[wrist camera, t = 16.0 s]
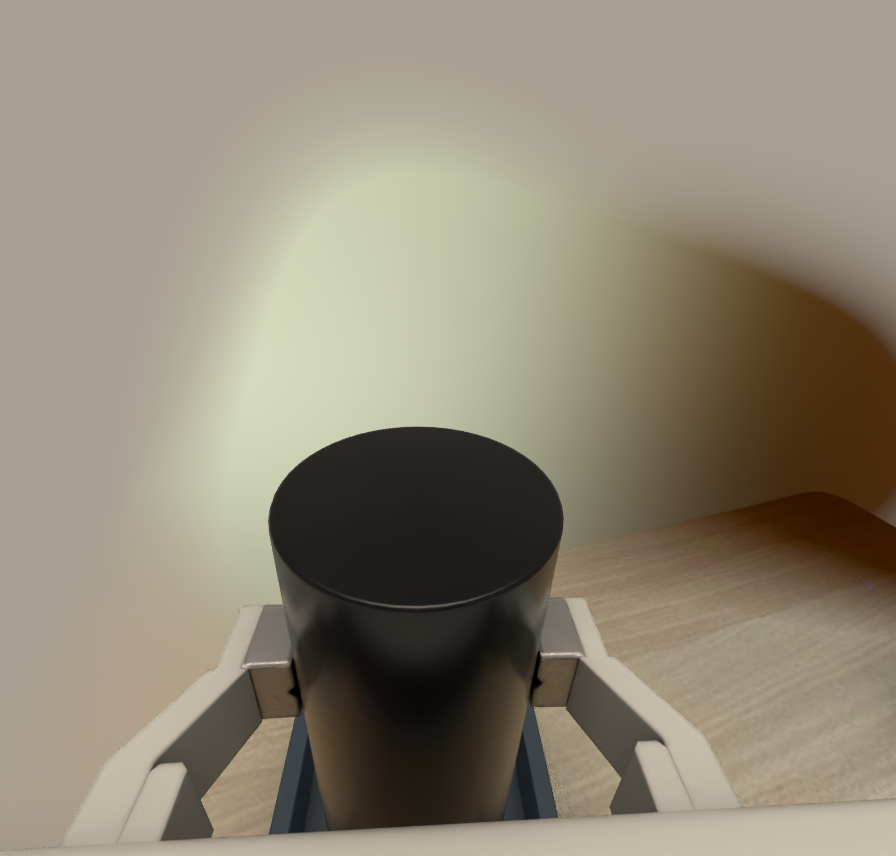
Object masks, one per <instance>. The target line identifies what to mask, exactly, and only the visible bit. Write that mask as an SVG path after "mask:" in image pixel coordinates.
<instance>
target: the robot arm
mask: <svg viewBox="0 0 896 856" xmlns="http://www.w3.org/2000/svg"><path fill="white" fill-rule="evenodd" d="M529 701H530V706H531V707H566V709H567V711H568V712H569V713H570V714H571V716H572V717H573V718H574V719H575V721H576V722H577V723H578V724H579V726H580V727H581V728H582V729H583V730H584V732H585V733H586V734H587V735H588V737H589V738H590V739H591V740H592V742H593V743H594V744H595V745H596V747H597V748H598V749H599V750H600V752H601V753H602V754H603V755H604V757H605V758H606V759H607V760H608V762H609V763H610V764H611V765H612V767H613V768H614V769H615V770H616V772H617V773H618V774H619V775H620V777H621V778H622V779H621V781H620V784H619V786H618V788H617V791H616V793H615V795H614V798H613V800H612V802H611V805H610V810H611V813H612V815H601V816H583V817H566V818H549V819H531V820H514V821H496V822H479V823H462V824H444V825H427V826H410V827H392V828H375V829H357V830H340V831H323V832H306V833H289V834H271V835H254V836H237V837H220V838H211V837H212V833H213V830H214V829H213V827H212V825H211V823H210V820H209V818H208V816H207V814H206V811H205V809H204V807H203V805H202V802H201V798H202V797H203V796H204V795H205V793H206V792H207V791H208V790H209V788H210V787H211V786H212V785H213V783H214V782H215V781H216V779H217V778H218V777H219V776H220V774H221V773H222V772H223V771H224V769H225V768H226V767H227V766H228V764H229V763H230V762H231V760H232V759H233V758H234V757H235V755H236V754H237V753H238V752H239V750H240V749H241V748H242V747H243V745H244V744H245V743H246V741H247V740H248V739H249V738H250V736H251V735H252V734H253V733H254V731H255V730H256V729H257V727H258V726H259V725H260V724H261V722H262V719H270V718H285V717H299V716H301V712H302V708H303V704H302V699H301V694H300V689H299V684H298V679H297V674H296V668H295V663H294V658H293V653H292V648H291V643H290V638H289V632H288V627H287V622H286V617H285V612H284V607H283V605H244V606H243V608H242V609H241V610H240V611H239V614H238V616H237V618H236V621H235V623H234V625H233V628H232V630H231V633H230V635H229V637H228V640H227V642H226V645H225V647H224V649H223V652H222V654H221V657H220V659H219V661H218V664H217V666H216V669H213V670H208V671H207V672H205V673H204V674H203V675H202V676H201V677H200V678H199V679H198V680H196V681H195V682H194V683H193V684H192V685H191V686H190V687H189V688H187V689H186V690H185V691H184V692H183V693H182V694H181V695H180V696H179V697H177V698H176V699H175V700H174V701H173V702H172V703H171V704H169V705H168V706H167V707H166V708H165V709H164V710H163V711H162V712H161V713H159V714H158V715H157V716H156V717H155V718H154V719H153V720H152V721H150V722H149V723H148V724H147V725H146V726H145V727H144V728H143V729H141V730H140V731H139V732H138V733H137V734H136V735H135V736H134V737H133V738H131V739H130V740H129V741H128V742H127V743H126V744H125V745H123V746H122V747H121V748H120V749H119V750H118V751H117V752H116V753H114V755H112V756H111V757H110V758H109V759H108V760H107V761H105V762H104V763H103V765H102V766H101V768H100V770H99V772H98V774H97V776H96V777H95V779H94V781H93V783H92V785H91V787H90V788H89V790H88V792H87V794H86V796H85V798H84V799H83V801H82V803H81V805H80V807H79V809H78V810H77V812H76V814H75V816H74V818H73V820H72V821H71V823H70V825H69V827H68V829H67V831H66V832H65V834H64V836H63V838H62V840H61V842H60V844H59V846H58V847H49V848H31V849H15V850H0V856H896V798H894V799H876V800H859V801H842V802H824V803H807V804H790V805H773V806H756V807H743V806H742V804H741V802H740V800H739V798H738V796H737V794H736V792H735V790H734V788H733V787H732V785H731V783H730V781H729V779H728V777H727V775H726V773H725V771H724V769H723V767H722V765H721V764H720V762H719V760H718V758H717V756H716V754H715V752H714V750H713V748H712V746H711V744H710V743H709V741H708V739H707V737H706V736H705V735H704V734H703V733H702V732H700V731H699V730H698V729H697V728H696V727H695V726H694V725H692V724H691V723H690V722H689V721H688V720H687V719H686V718H685V717H683V716H682V715H681V714H680V713H679V712H678V711H677V710H675V709H674V708H673V707H672V706H671V705H670V704H669V703H667V702H666V701H665V700H664V699H663V698H662V697H661V696H659V695H658V694H657V693H656V692H655V691H654V690H653V689H651V688H650V687H649V686H648V685H647V684H646V683H645V682H644V681H642V680H641V679H640V678H639V677H638V676H637V675H636V674H634V673H633V672H632V671H631V670H630V669H629V668H628V667H626V666H625V665H624V664H623V663H622V662H621V661H620V660H618V659H617V658H616V657H609V655H608V653H607V650H606V648H605V645H604V643H603V641H602V638H601V636H600V633H599V631H598V628H597V626H596V624H595V621H594V619H593V616H592V614H591V611H590V609H589V607H588V604H587V602H586V600H585V599H584V598H549V601H548V605H547V610H546V615H545V620H544V625H543V630H542V635H541V640H540V645H539V650H538V655H537V660H536V665H535V670H534V675H533V679H532V684H531V689H530V694H529Z"/></svg>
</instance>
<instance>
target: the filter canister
mask: <svg viewBox="0 0 896 856" xmlns="http://www.w3.org/2000/svg"><path fill="white" fill-rule="evenodd" d="M563 519H564V518H563V510H562V505H561V502H560V499H559V496H558V493H557V491H556V489H555V488H554V486H553V484H552V482H551V481H550V480H549V478H548V477H547V476H546V474H545V473H544V472H543V471H542V470H541V469H540V468H539V467H538V466H537V465H536V464H535V463H533V462H532V461H531V460H529V459H528V458H527V457H525V456H524V455H522V454H521V453H519V452H517V451H516V450H514V449H512V448H510V447H508V446H506V445H504V444H502V443H500V442H497V441H495V440H492V439H490V438H487V437H483V436H480V435H477V434H473V433H469V432H464V431H459V430H453V429H446V428H436V427H400V428H389V429H382V430H376V431H371V432H367V433H362V434H358V435H355V436H352V437H348V438H345V439H343V440H341V441H338V442H335V443H333V444H331V445H329V446H326V447H325V448H322V449H321V450H319V451H317V452H315V453H314V454H312V455H310V456H309V457H308V458H306V459H305V460H303V461H302V462H301V463H300V464H298V465H297V466H296V467H295V468H294V469H293V470H292V471H291V472H290V473H289V474H288V475H287V477H286V478H285V479H284V480H283V481H282V483H281V484H280V486H279V488H278V489H277V491H276V493H275V495H274V498H273V502H272V504H271V507H270V511H269V520H268V524H269V533H270V539H271V545H272V550H273V555H274V560H275V565H276V571H277V576H278V581H279V585H280V591H281V596H282V601H283V607H284V612H285V617H286V622H287V627H288V632H289V638H290V643H291V648H292V653H293V658H294V663H295V668H296V674H297V679H298V684H299V689H300V694H301V699H302V704H303V710H304V715H305V720H306V725H307V730H308V735H309V740H310V746H311V751H312V756H313V761H314V766H315V771H316V776H317V782H318V787H319V792H320V797H321V802H322V807H323V812H324V818H325V822H326V826H327V830H328V831H340V830H357V829H375V828H392V827H410V826H427V825H444V824H462V823H479V822H496V821H503V820H504V816H505V812H506V808H507V803H508V798H509V793H510V788H511V783H512V778H513V773H514V768H515V763H516V758H517V753H518V749H519V744H520V739H521V734H522V729H523V724H524V719H525V714H526V709H527V704H528V699H529V694H530V689H531V684H532V679H533V675H534V670H535V665H536V660H537V655H538V650H539V645H540V640H541V635H542V630H543V625H544V620H545V615H546V610H547V605H548V601H549V596H550V591H551V586H552V581H553V576H554V571H555V566H556V561H557V556H558V551H559V546H560V541H561V536H562V531H563Z"/></svg>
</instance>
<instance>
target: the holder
mask: <svg viewBox="0 0 896 856" xmlns="http://www.w3.org/2000/svg"><path fill="white" fill-rule="evenodd" d="M549 818H558V814H557V810H556V805H555V801H554V796H553V792H552V787H551V783H550V778H549V774H548V770H547V765H546V761H545V756H544V752H543V747H542V743H541V738H540V734H539V729H538V725H537V721H536V716H535V712H534V707H531V706H530V701H529V699H528V704H527V709H526V714H525V719H524V724H523V729H522V734H521V739H520V744H519V749H518V753H517V758H516V763H515V768H514V773H513V778H512V783H511V788H510V793H509V798H508V803H507V808H506V812H505V816H504V820H503V821H514V820H531V819H549ZM323 831H328V830H327V826H326V822H325V818H324V812H323V807H322V802H321V797H320V792H319V787H318V782H317V776H316V771H315V766H314V761H313V756H312V751H311V746H310V740H309V735H308V730H307V725H306V720H305V715H304V710H303V708H302V712H301V716H299V717H295V721H294V725H293V730H292V734H291V738H290V743H289V747H288V752H287V756H286V761H285V765H284V770H283V774H282V779H281V783H280V787H279V792H278V796H277V801H276V805H275V810H274V814H273V819H272V823H271V828H270V832H269V835H271V834H289V833H306V832H323Z"/></svg>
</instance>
